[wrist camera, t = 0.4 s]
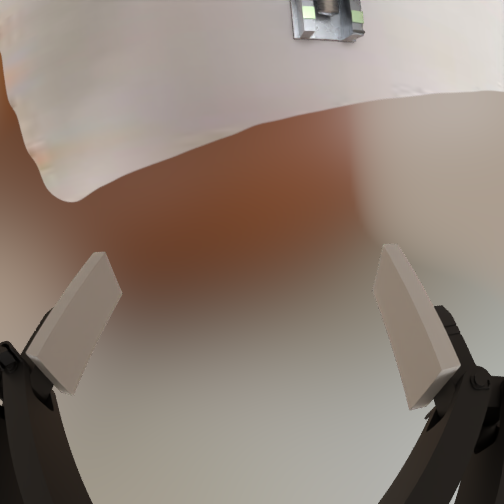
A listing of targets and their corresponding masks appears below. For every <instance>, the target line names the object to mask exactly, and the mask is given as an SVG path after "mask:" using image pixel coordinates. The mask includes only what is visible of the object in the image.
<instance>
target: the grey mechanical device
mask: <svg viewBox="0 0 504 504" xmlns="http://www.w3.org/2000/svg"><path fill="white" fill-rule="evenodd" d="M316 1H317V10H318V14H321V15H338V14H339V7H338V0H316Z"/></svg>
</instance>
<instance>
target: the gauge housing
mask: <svg viewBox="0 0 504 504" xmlns="http://www.w3.org/2000/svg"><path fill="white" fill-rule="evenodd" d="M290 4H291V14H292V25H293V36H294V39H313V40H331V41H343V42H353V43H354V42H356V39H357V38H359V37H362V36H364V33H365V31H363V23H364V21H363V12H362V11H361V4H360V0H338V7H339V14H338V15H321V14H318V10H317V1H316V0H290Z"/></svg>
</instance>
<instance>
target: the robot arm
mask: <svg viewBox="0 0 504 504" xmlns="http://www.w3.org/2000/svg"><path fill="white" fill-rule="evenodd" d="M372 291H373V294H374V297H375V300H376V302H377V305H378V308H379V310H380V313H381V316H382V319H383V322H384V325H385V328H386V331H387V334H388V337H389V339H390V343H391V346H392V349H393V352H394V356H395V359H396V362H397V365H398V369H399V372H400V376H401V380H402V383H403V387H404V390H405V394H406V398H407V402H408V406H409V410H413V409H417V408H422V407H426V406H427V405H428V404H429V403H430V402H431V401H432V400H433V399H434V402H435V405H436V406H435V407H434V408H433V409H432V410H431V411H430V412H429V413H428V414H427V415H426V417H425V419H427V418H429V419H428V421H427V423H426V425H425V427H424V429H423V431H422V433H421V435H420V437H419V439H418V441H417V443H416V445H415V447H414V448H413V450H412V452H411V454H410V455H409V457H408V459H407V461H406V462H405V464H404V466H403V467H402V469H401V471H400V472H399V474H398V476H397V477H396V479H395V480H394V482H393V483H392V485H391V486H390V488H389V489H388V491H387V492H386V493H385V495H384V496H383V498H382V499H381V500H380V502H379V503H378V504H449V502H450V501H451V499H452V497H453V495H454V493H455V491H456V489H457V487H458V485H459V483H460V486H459V490H458V493H457V496H456V500H455V503H454V504H504V377H501V376H491V375H490V374H489V373H488V371H487V370H486V369H484V368H483V367H480V366H476V364H475V363H474V360H473V358H472V356H471V354H470V352H469V349H468V347H467V345H466V343H465V341H464V339H463V337H462V335H461V334H460V331H459V329H458V327H457V326H456V323H455V321H454V319H453V317H452V315H451V314H450V313H449V312H448V311H447V310H446V309H445V308H444V307H443V306H442V305H441V306H433V304H432V302H431V300H430V299H429V297H428V295H427V293H426V291H425V289H424V287H423V286H422V284H421V282H420V280H419V278H418V277H417V275H416V273H415V272H414V270H413V268H412V267H411V265H410V263H409V261H408V260H407V258H406V256H405V255H404V253H403V251H402V250H401V248H400V247H399V245H398V244H383V247H382V251H381V256H380V260H379V265H378V269H377V273H376V278H375V282H374V286H373V290H372ZM121 295H122V291H121V289H120V287H119V285H118V282H117V280H116V277H115V275H114V273H113V270H112V268H111V265H110V263H109V260H108V257H107V255H106V252H94V253H93V254H92V255H91V257H90V258H89V259H88V260H87V262H86V263H85V264H84V266H83V267H82V268H81V270H80V271H79V272H78V274H77V275H76V276H75V278H74V279H73V280H72V282H71V283H70V285H69V286H68V287H67V289H66V290H65V292H64V293H63V294H62V296H61V297H60V299H59V300H58V302H57V303H56V305H55V306H54V307H53V308H52V309H51V310H50V311H49V312H47V313H46V314H45V316H44V317H43V319H42V320H41V322H40V324H39V325H38V327H37V328H36V331H34V333H33V335H32V336H31V338H30V340H29V341H28V343H27V345H26V346H25V348H24V350H23V352H22V353H21V355H20V354H19V353H18V352H17V351H16V349H15V348H14V347H13V345H12V344H11V343H10V342H9V341H4V342H1V343H0V399H1V400H2V401H3V404H2V406H1V405H0V504H93V503H92V501H91V499H90V497H89V495H88V493H87V491H86V488H85V486H84V484H83V481H82V479H81V477H80V474H79V471H78V469H77V466H76V464H75V461H74V458H73V455H72V453H71V450H70V447H69V443H68V440H67V437H66V434H65V431H64V427H63V424H62V420H61V416H60V412H59V408H58V404H57V400H56V395H55V393H54V391H53V390H52V387H53V385H54V386H55V387H56V388H57V389H58V390H59V391H60V392H62V393H65V394H68V395H71V396H73V395H74V393H75V390H76V388H77V386H78V384H79V381H80V379H81V377H82V374H83V372H84V370H85V368H86V365H87V363H88V361H89V359H90V357H91V355H92V352H93V350H94V348H95V346H96V344H97V342H98V340H99V338H100V336H101V334H102V332H103V330H104V328H105V326H106V324H107V322H108V320H109V318H110V316H111V314H112V312H113V310H114V308H115V306H116V305H117V303H118V301H119V299H120V297H121ZM460 481H461V482H460Z"/></svg>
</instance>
